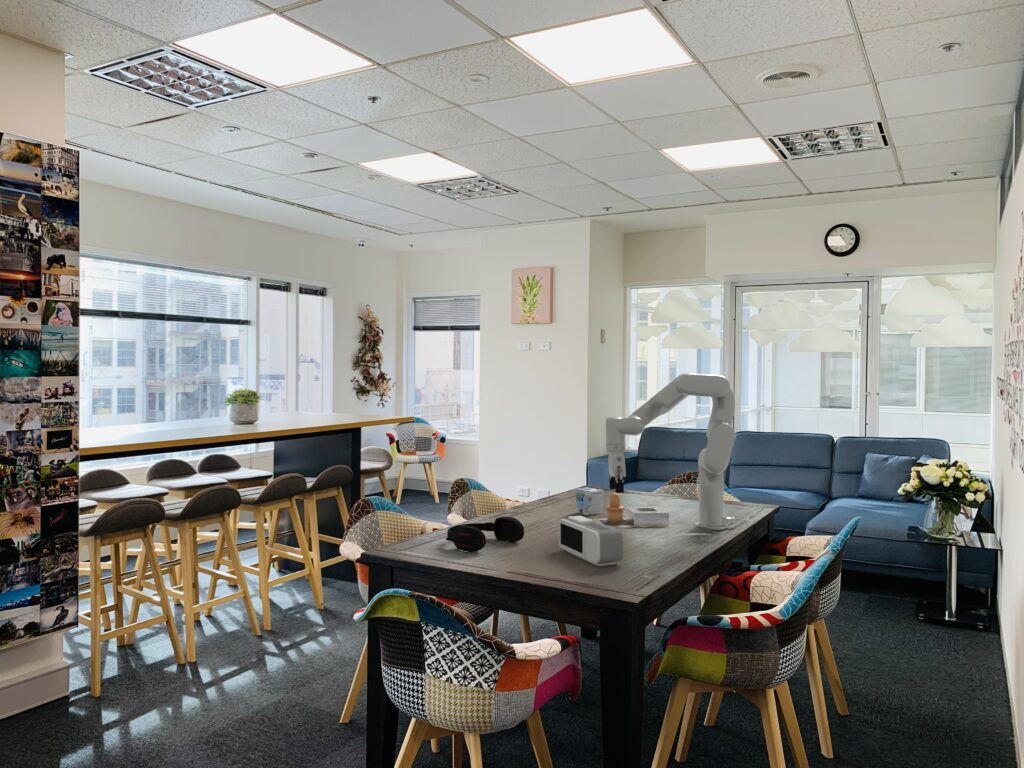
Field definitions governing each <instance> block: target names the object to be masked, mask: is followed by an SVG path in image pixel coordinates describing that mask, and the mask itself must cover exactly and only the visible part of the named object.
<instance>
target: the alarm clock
mask: <svg viewBox="0 0 1024 768" xmlns="http://www.w3.org/2000/svg"><path fill="white" fill-rule="evenodd" d="M557 527H558V529H557V530H558V533H557V534H558V537H557V540H558V543H557V544H558V546H559V547H560V548H561V549H562V550H564V551H565V552H566V551H567V552H566V553H569V554H571V555H573V556H575V557H577V558H579V559H581V560H583V561H586V562H588V563H591V564H592V565H594V566H596V567H600V566H601V567H602V566H612V565H617V564H618V562H621V561H623V560H622V559H623V557H624V535H623V532H622V531H621V530H620V529H618V528H613V527H610V526H607V525H604V524H602V523H599V522H596V521H593V519H591V518H588V517H586V516H584V515H583V516H582V515H571V516H568V517H567V518H561V519H560V520H559V521H558V526H557Z"/></svg>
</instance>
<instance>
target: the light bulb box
mask: <svg viewBox="0 0 1024 768" xmlns="http://www.w3.org/2000/svg"><path fill="white" fill-rule="evenodd" d="M575 492H576V495H575V497H576V498H575V499H576V500H575V502H576V503H575V506H576V507H575V513H576V514H578V515H579V514H580V515H583V516H589V517H590V515H602V514H604V489H599V488H592V487H588V486H586V487H578V488H576V489H575Z"/></svg>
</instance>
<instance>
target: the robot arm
mask: <svg viewBox="0 0 1024 768" xmlns="http://www.w3.org/2000/svg"><path fill="white" fill-rule="evenodd" d="M689 396H694V397H711V400H712V406H711V413H710V416H709V421H708V424H707V427H706V430H705V431H706V432H705V434H706V438H707V445H706V447H705V448H703V449H701V451H700V453H699V455H698V458H697V461H698V463H697V465H698V466H697V467H698V521H696V522H695V523H694V525H695V526H697V527H700V528H705V529H707V530H709V531H721V530H727V529H728V526H729V525H728V524H729V523H731V524H732V523H733V524H734V523H736V521H737V520H736V517H728V516H725V515H724V512H725V511H724V510H725V509H724V506H725V504H724V503H725V502H724V500H725V498H724V494H725V493H724V492H725V491H724V489H725V478H724V477H725V475H724V472H725V471H726V470H727V468H728V466H729V463H730V461H731V460H730V459H731V456H732V452H733V447H734V443H735V437H736V435H735V430H734V427H733V426H732V424H733V419H734V414H735V409H736V400H735V395H734V393H733V390H732V388H731V384H730V381H729V380H728V378H726V376H724V375H721V374H720V375H719V374H700V373H692V372H691V373H690V372H687V373H685V372H683V373H681V374H679V375H678V376H677V377H675V378H674V379H673V380H671V381H670V382H669V383H668V384H667V385H665V386H664V387H663V388H661V390H660V391H658V392H657V393H655V394H654V395H653V396H652V397H650V399H648V400H647V401H645V403H643V404H642V405H641V406H639V407H638V408H637V409H636V410H634V411H633V412H632V413H631V414H630V415H629V416H627V417H622V416H610V417H607V418H606V419H605V447H606V448H605V451H606V453H608V459H607V461H608V474H609V490H615V494H621V493H622V494H624V493H625V489H624V486H625V485H624V483H625V480H624V478H625V477H626V476H627V472H626V460H625V459H626V458H625V452H626V436H639V435H641V434H642V433H643V432H644V431H645V427H647V426H648V425H649V424H650V423H651V422H653V421H654V420H655V419H657V418H659V417H661V416H663V415H666V414H667V413H668V412H670V411H672V410H673V409H674V408H675V407H677V406H678V405H679V404H680V403H681V402H683V401H684V400H685V399H686V398H687V397H689Z"/></svg>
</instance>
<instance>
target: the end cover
mask: <svg viewBox="0 0 1024 768" xmlns="http://www.w3.org/2000/svg"><path fill="white" fill-rule="evenodd" d="M625 507H626V506H624V505H621V493H616V492H615V493H609V505H606V506H605V510H606V512H607V518H606V519H607V522H609V523H622V522H623V518H624V517H623V516H624V514H623V513H624V512H623V511H625Z"/></svg>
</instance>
